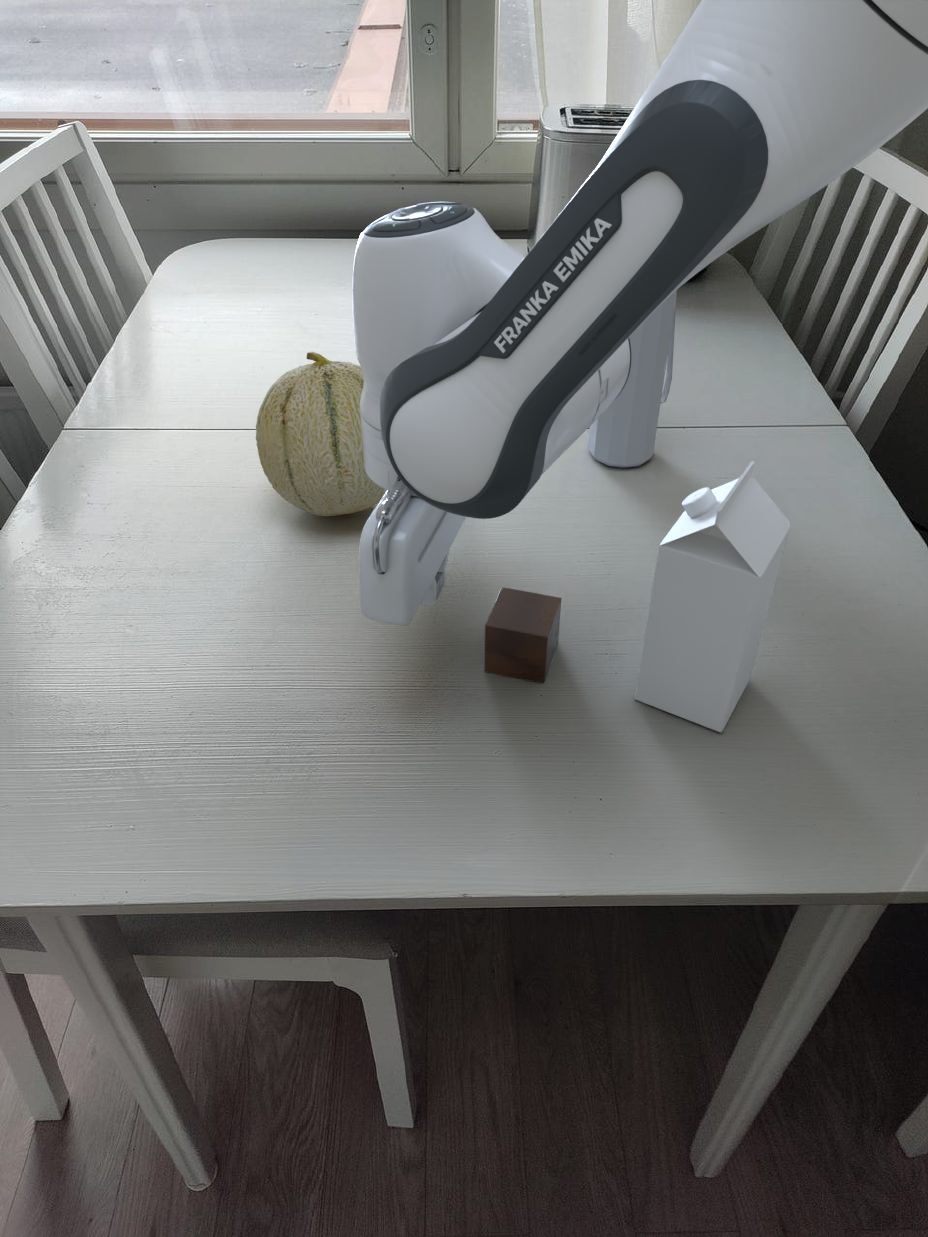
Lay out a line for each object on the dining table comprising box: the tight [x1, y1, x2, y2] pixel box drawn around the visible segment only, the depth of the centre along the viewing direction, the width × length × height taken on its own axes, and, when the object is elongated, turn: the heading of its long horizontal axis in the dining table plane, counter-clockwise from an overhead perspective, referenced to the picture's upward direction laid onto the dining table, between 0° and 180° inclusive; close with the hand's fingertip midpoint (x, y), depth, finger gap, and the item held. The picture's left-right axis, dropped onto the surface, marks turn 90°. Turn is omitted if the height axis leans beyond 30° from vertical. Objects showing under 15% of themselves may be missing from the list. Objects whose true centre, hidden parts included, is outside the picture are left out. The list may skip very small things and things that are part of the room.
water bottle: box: [587, 289, 678, 469], centre depth 95 cm, size 9×8×25 cm
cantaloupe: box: [255, 351, 385, 517], centre depth 91 cm, size 15×15×15 cm
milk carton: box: [634, 460, 792, 733], centre depth 69 cm, size 7×7×19 cm
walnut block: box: [483, 586, 562, 684], centre depth 77 cm, size 5×5×5 cm
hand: (429, 594), depth 77 cm, fingers closed
